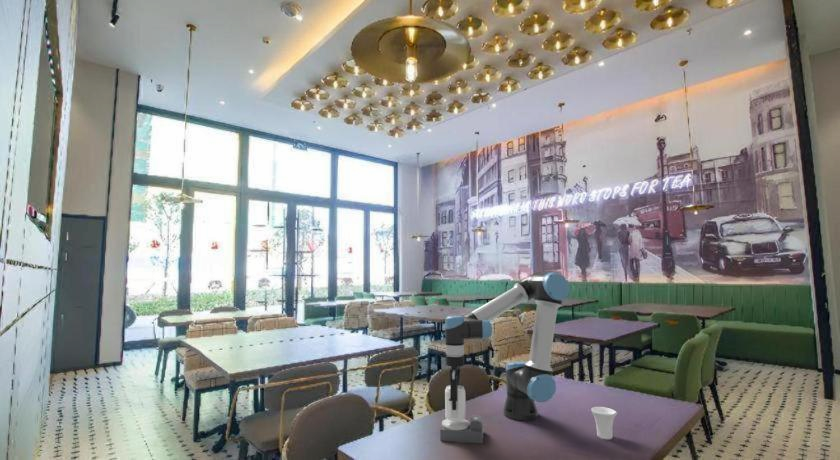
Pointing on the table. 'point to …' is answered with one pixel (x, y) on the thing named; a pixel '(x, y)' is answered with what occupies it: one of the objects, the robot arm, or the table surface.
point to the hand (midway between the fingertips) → (455, 414)
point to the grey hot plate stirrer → (463, 430)
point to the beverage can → (461, 404)
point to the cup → (604, 421)
